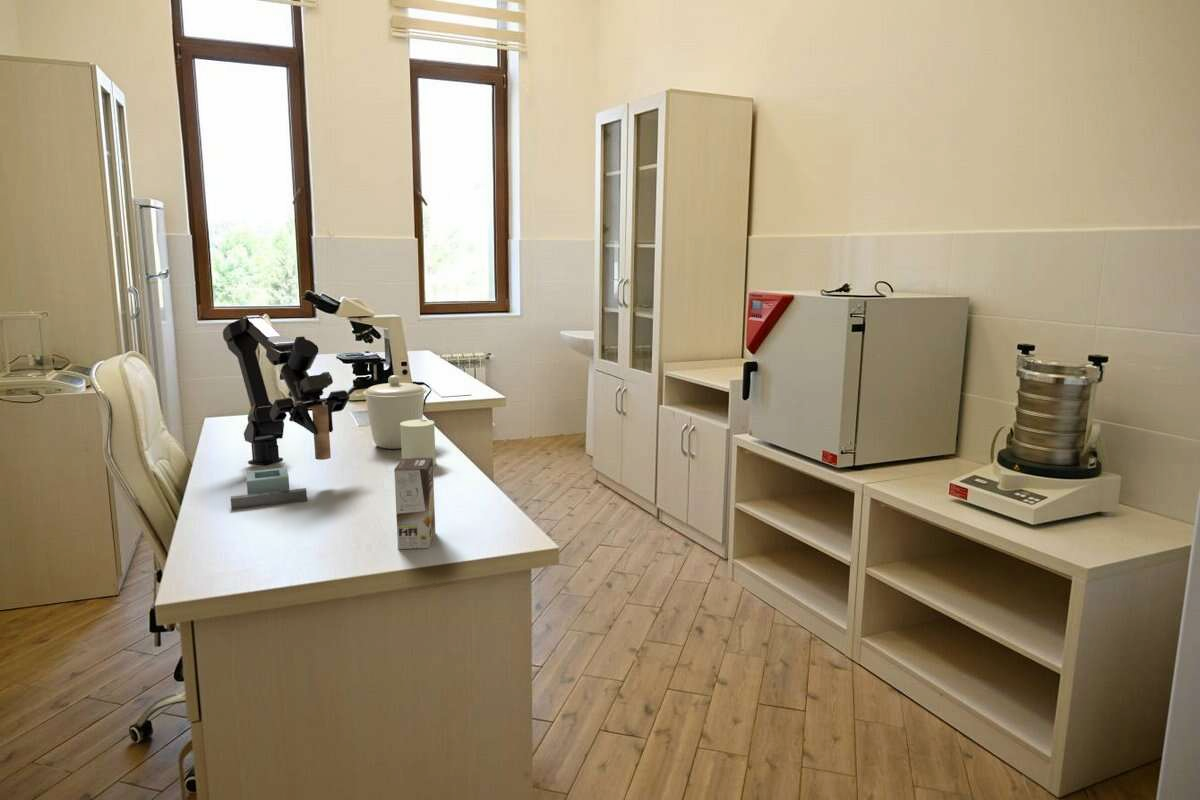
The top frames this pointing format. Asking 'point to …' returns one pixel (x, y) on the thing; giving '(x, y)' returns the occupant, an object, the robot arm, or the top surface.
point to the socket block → (267, 480)
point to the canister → (393, 409)
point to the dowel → (321, 432)
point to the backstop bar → (268, 498)
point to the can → (418, 439)
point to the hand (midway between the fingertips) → (324, 432)
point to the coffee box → (415, 503)
